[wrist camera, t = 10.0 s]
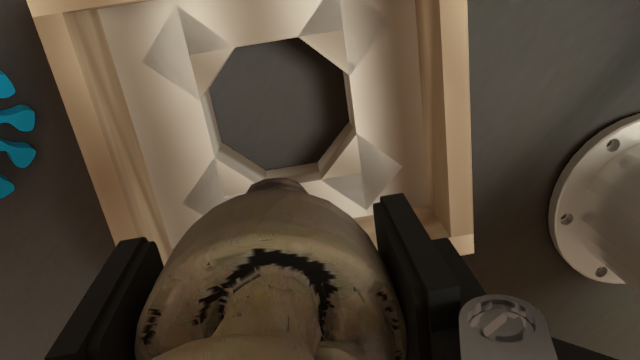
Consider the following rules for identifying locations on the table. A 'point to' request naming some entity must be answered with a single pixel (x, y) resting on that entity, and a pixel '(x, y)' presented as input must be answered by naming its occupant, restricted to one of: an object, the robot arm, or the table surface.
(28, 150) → the gear
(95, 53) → the bore box
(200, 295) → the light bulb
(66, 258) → the table surface
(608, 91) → the table surface
